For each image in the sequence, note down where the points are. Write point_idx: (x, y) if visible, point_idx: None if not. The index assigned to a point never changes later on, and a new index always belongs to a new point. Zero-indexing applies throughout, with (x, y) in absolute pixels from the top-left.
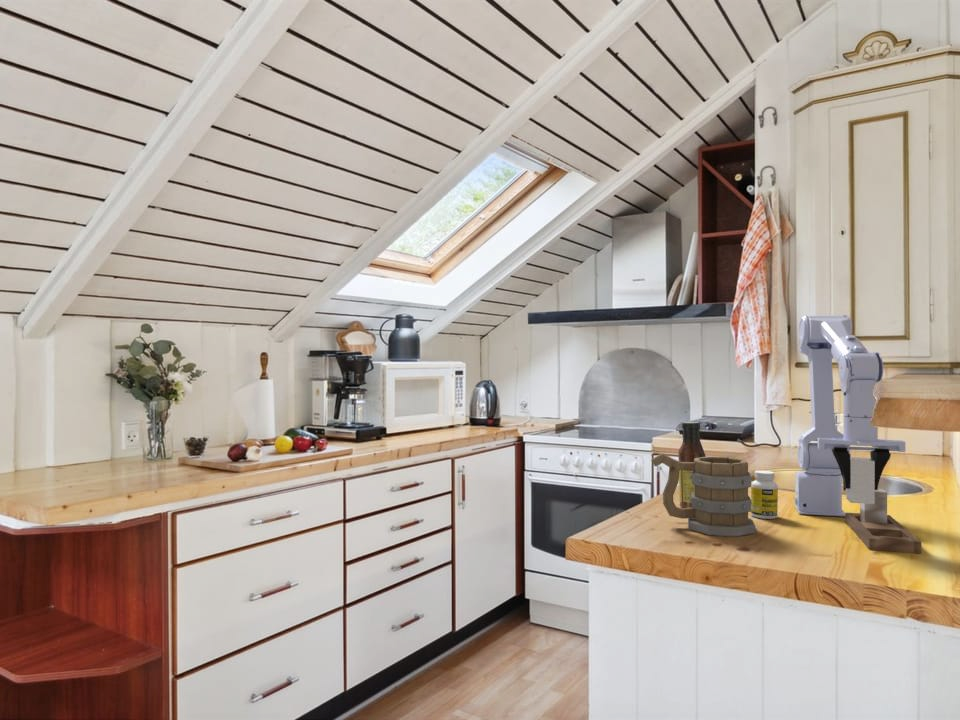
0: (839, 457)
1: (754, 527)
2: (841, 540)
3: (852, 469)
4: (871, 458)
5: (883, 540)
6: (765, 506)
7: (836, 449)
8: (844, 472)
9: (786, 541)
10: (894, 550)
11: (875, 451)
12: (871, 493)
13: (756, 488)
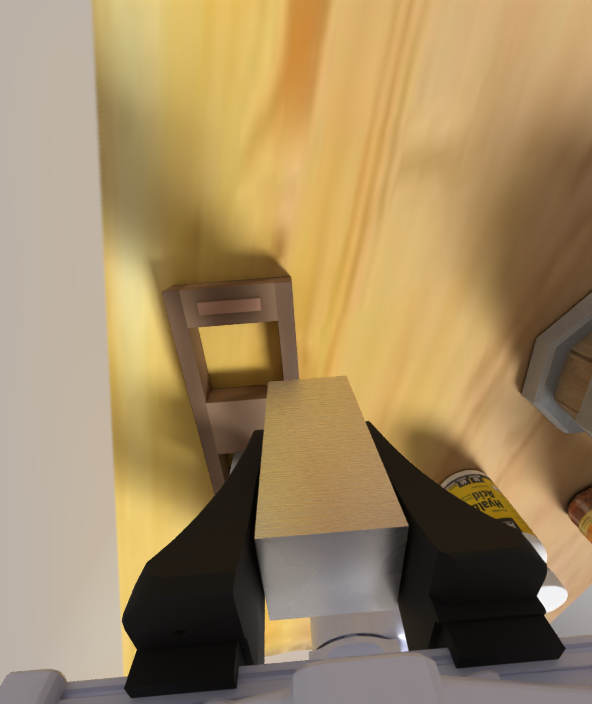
0: (498, 526)
1: (549, 341)
2: (342, 346)
3: (376, 473)
4: (262, 613)
5: (255, 283)
6: (484, 492)
7: (532, 629)
8: (406, 463)
9: (479, 286)
10: (232, 281)
11: (237, 649)
12: (277, 401)
13: (534, 535)
